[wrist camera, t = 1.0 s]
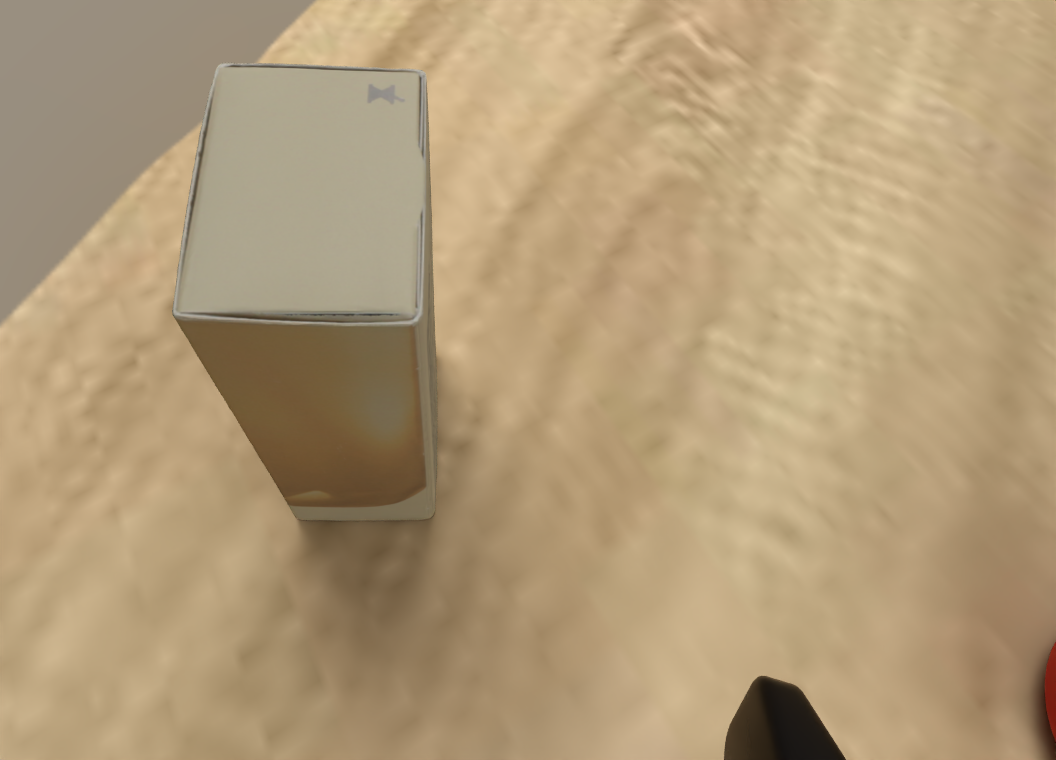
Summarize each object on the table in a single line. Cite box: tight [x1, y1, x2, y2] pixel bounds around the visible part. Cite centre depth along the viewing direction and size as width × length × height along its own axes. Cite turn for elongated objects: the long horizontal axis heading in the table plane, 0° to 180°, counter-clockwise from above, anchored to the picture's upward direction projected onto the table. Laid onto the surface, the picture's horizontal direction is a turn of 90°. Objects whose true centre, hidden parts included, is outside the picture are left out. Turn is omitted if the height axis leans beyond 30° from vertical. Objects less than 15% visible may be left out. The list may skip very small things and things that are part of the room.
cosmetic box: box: [172, 63, 437, 521], centre depth 20 cm, size 6×4×12 cm
